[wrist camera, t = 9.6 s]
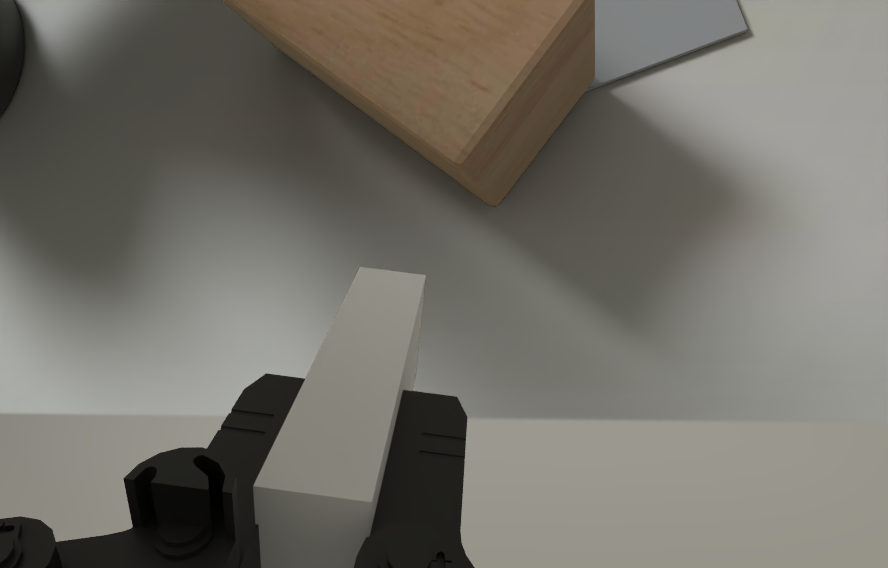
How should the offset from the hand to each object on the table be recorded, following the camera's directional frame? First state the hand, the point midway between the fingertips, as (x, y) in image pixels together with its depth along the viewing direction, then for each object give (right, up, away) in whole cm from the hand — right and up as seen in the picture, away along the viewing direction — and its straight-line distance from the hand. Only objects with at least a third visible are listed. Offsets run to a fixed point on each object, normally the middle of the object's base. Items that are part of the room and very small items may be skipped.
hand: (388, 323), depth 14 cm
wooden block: (+6, +10, +17) cm, 21 cm away
